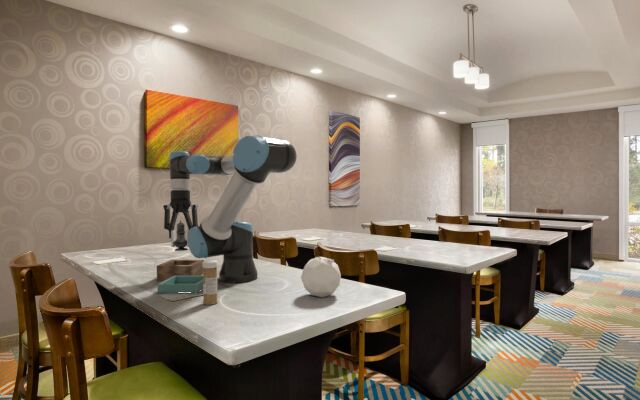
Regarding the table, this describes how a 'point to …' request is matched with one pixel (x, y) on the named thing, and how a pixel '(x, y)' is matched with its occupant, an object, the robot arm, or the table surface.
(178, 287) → the tray
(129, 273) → the table surface
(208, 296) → the sprinkles bottle
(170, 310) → the table surface
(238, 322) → the table surface
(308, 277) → the geodesic sphere
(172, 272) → the wooden crate
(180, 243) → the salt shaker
